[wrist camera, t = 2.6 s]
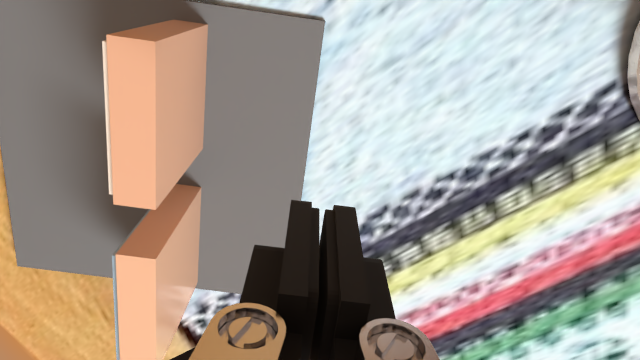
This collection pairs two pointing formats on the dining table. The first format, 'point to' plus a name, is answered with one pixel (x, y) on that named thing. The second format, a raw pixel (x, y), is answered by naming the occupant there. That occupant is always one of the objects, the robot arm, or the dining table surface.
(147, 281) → the peach flat block
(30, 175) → the rubber mat
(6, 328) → the dining table surface
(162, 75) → the terracotta tile
